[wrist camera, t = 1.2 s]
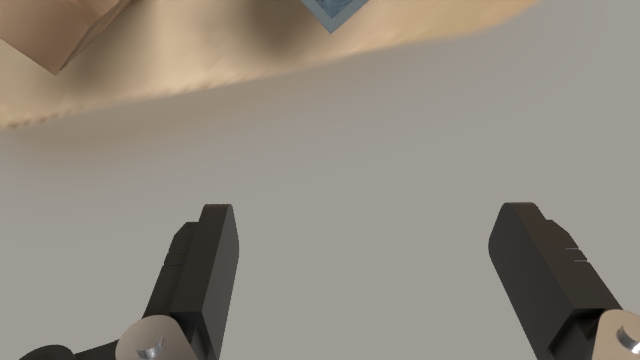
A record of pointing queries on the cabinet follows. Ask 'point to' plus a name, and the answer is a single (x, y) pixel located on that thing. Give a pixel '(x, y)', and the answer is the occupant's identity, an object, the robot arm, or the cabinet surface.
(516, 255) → the robot arm
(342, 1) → the cup bracket
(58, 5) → the rail post
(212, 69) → the cabinet surface
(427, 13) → the cabinet surface
